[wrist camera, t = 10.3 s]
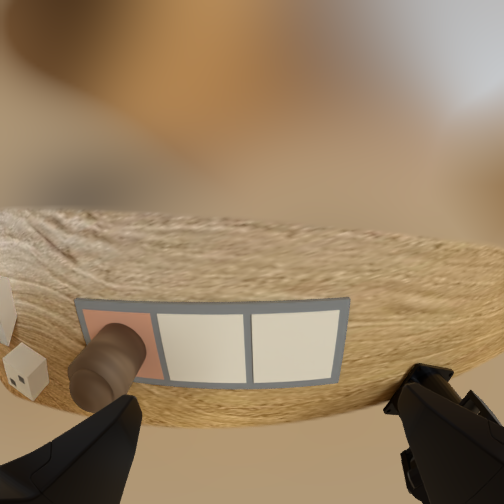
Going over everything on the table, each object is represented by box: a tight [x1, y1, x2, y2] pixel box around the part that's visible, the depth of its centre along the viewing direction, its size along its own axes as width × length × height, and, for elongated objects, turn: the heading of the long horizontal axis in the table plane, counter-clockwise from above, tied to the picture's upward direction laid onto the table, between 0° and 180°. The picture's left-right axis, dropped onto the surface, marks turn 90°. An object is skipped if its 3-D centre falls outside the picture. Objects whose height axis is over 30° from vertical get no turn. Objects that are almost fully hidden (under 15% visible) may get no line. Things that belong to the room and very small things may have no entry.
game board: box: [74, 297, 350, 389], centre depth 20 cm, size 22×8×1 cm, turn 92°
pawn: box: [68, 323, 146, 413], centre depth 16 cm, size 4×4×8 cm
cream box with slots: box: [3, 342, 49, 401], centre depth 20 cm, size 4×4×4 cm
